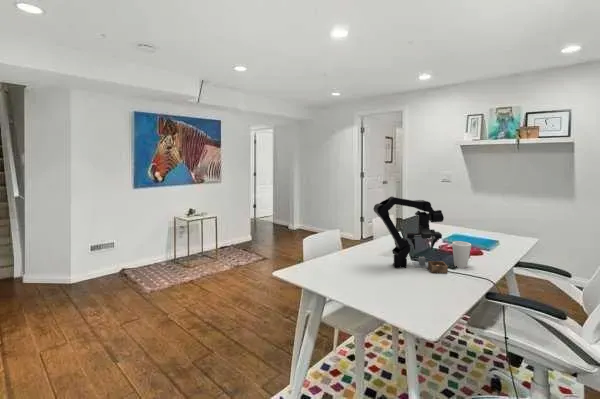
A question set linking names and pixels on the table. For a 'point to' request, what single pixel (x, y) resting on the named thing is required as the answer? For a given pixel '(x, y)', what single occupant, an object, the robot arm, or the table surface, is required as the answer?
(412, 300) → the table surface
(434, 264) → the walnut box
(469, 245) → the foam cup
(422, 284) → the table surface
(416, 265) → the lid
